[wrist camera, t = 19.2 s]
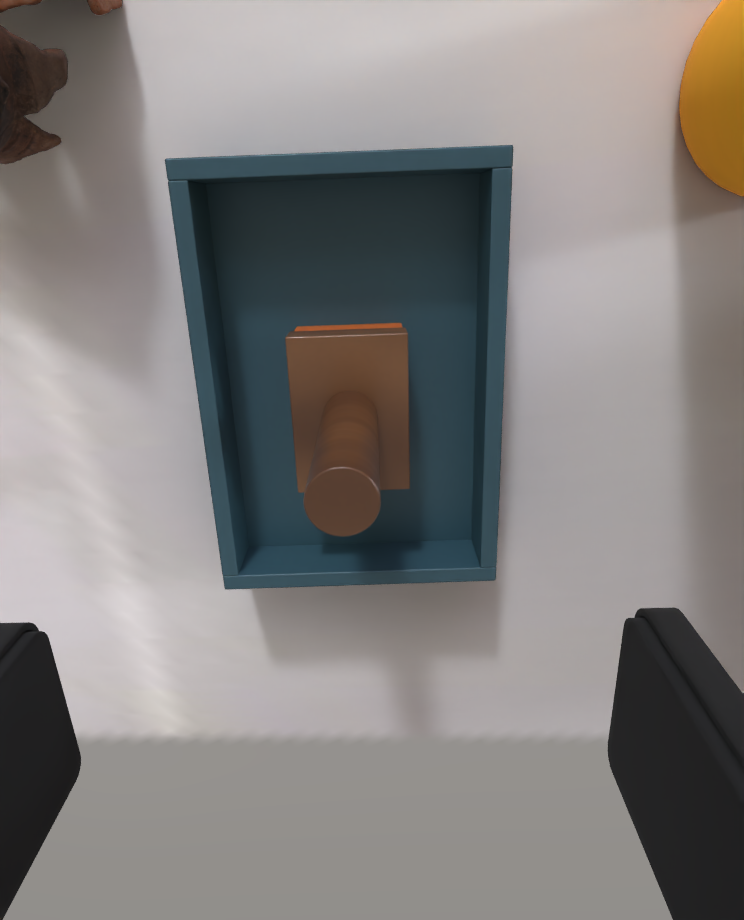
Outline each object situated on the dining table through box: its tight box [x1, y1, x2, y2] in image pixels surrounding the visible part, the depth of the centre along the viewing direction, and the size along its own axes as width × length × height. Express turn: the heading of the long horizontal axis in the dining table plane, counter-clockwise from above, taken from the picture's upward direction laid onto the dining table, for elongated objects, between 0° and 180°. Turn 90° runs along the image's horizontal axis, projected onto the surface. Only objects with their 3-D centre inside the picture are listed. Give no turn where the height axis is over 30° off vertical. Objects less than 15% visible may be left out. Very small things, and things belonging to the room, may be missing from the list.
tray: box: [165, 145, 513, 589], centre depth 30 cm, size 20×14×4 cm
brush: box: [285, 323, 410, 537], centre depth 25 cm, size 7×5×12 cm
